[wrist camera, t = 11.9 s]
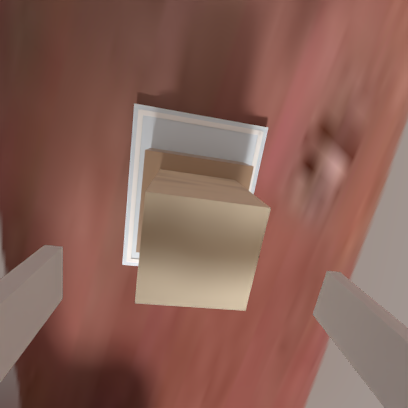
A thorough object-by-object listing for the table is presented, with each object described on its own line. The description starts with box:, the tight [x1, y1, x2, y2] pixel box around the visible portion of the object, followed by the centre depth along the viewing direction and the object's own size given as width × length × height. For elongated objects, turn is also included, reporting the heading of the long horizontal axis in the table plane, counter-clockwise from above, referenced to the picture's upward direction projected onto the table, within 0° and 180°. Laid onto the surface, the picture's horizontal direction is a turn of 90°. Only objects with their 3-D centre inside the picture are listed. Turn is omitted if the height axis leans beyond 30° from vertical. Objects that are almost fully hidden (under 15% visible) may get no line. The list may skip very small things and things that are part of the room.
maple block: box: [135, 169, 271, 311], centre depth 18 cm, size 7×7×9 cm
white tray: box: [122, 103, 268, 266], centre depth 24 cm, size 18×14×5 cm
